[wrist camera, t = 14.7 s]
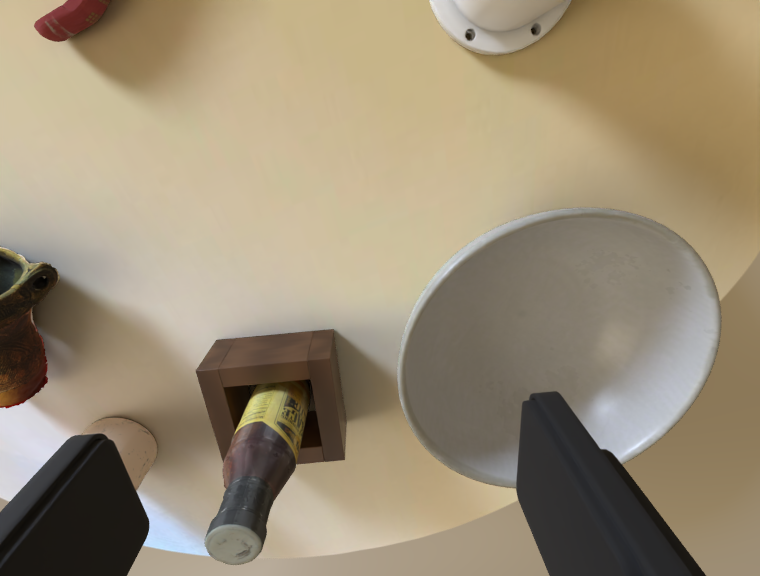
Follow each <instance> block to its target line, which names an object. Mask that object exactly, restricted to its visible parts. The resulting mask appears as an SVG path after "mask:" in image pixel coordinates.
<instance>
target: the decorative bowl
mask: <svg viewBox="0 0 760 576" xmlns="http://www.w3.org/2000/svg"><path fill="white" fill-rule="evenodd" d="M720 335H721V307H720V301H719V296H718V292H717V289H716V286H715V283H714V280H713V278H712V276H711V274H710V272H709V270H708V268H707V266H706V265H705V263H704V262H703V260H702V259H701V257H700V256H699V255H698V253H697V252H696V251H695V250H694V249H693V248H692V247H691V246H690V245H689V244H688V243H687V242H686V241H685V240H684V239H683V238H681V237H680V236H679V235H677V234H676V233H675V232H673V231H672V230H670V229H669V228H667V227H665V226H664V225H662V224H660V223H658V222H656V221H653V220H651V219H648V218H646V217H643V216H640V215H637V214H633V213H629V212H626V211H620V210H614V209H605V208H567V209H558V210H552V211H546V212H541V213H537V214H533V215H529V216H525V217H522V218H519V219H516V220H513V221H510V222H508V223H505V224H503V225H500V226H498V227H496V228H494V229H492V230H490V231H488V232H486V233H484V234H483V235H481V236H479V237H478V238H476V239H474V240H473V241H471V242H470V243H468V244H467V245H466V246H464V247H463V248H462V249H461V250H459V251H458V252H457V253H456V254H455V255H453V256H452V257H451V258H450V259H449V260H448V261H447V262H446V263H445V264H444V265H443V266H442V267H441V268H440V269H439V270H438V272H437V273H436V274H435V275H434V276H433V278H432V279H431V280H430V282H429V283H428V285H427V286H426V287H425V289H424V290H423V292H422V294H421V295H420V297H419V299H418V300H417V302H416V304H415V306H414V308H413V310H412V312H411V315H410V317H409V320H408V322H407V325H406V328H405V331H404V334H403V337H402V342H401V346H400V351H399V358H398V369H397V380H398V391H399V397H400V402H401V406H402V409H403V412H404V415H405V417H406V419H407V421H408V424H409V426H410V427H411V429H412V431H413V433H414V434H415V436H416V437H417V438H418V440H419V441H420V443H421V444H422V445H423V446H424V447H425V448H426V449H427V450H428V451H429V452H430V453H431V454H432V455H433V456H434V457H435V458H436V459H438V460H439V461H440V462H441V463H443V464H444V465H446V466H447V467H449V468H450V469H452V470H454V471H456V472H457V473H459V474H461V475H464V476H466V477H468V478H471V479H473V480H476V481H479V482H483V483H486V484H490V485H495V486H500V487H507V488H516V480H517V466H518V452H519V438H520V424H521V411H522V403H523V401H526V400H529V397H530V395H531V394H532V393H541V392H552V391H557V392H559V393H560V394H561V395H562V397H563V398H564V400H565V401H566V402H567V404H568V405H569V406H570V408H571V409H572V411H573V412H574V413H575V415H576V416H577V417H578V419H579V420H580V421H581V423H582V424H583V426H584V427H585V428H586V430H587V431H588V432H589V434H590V435H591V437H592V438H593V439H594V441H595V442H596V443H597V445H598V446H599V448H600V449H607V450H608V451H610V452H612V453H613V454H614V455H615V457H616V458H617V459H618V460H619V461H620V463H621V464H624V463H626V462H628V461H630V460H631V459H633V458H635V457H636V456H638V455H639V454H641V453H642V452H644V451H645V450H647V449H648V448H649V447H651V446H652V445H653V444H655V443H656V442H657V441H658V440H660V439H661V438H662V437H663V436H664V435H665V434H666V433H668V432H669V431H670V430H671V429H672V428H673V427H674V426H675V425H676V424H677V423H678V422H679V420H680V419H681V418H682V417H683V415H685V413H686V412H687V411H688V410H689V408H690V407H691V406H692V404H693V403H694V401H695V400H696V398H697V397H698V395H699V394H700V392H701V390H702V389H703V387H704V385H705V383H706V381H707V379H708V377H709V375H710V373H711V370H712V367H713V365H714V362H715V358H716V355H717V352H718V346H719V342H720Z"/></svg>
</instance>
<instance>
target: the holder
mask: <svg viewBox="0 0 760 576" xmlns="http://www.w3.org/2000/svg"><path fill="white" fill-rule="evenodd" d="M196 374H197V377H198V380H199V384H200V387H201V390H202V394H203V397H204V400H205V403H206V407H207V410H208V413H209V417H210V420H211V423H212V427H213V430H214V433H215V437H216V440H217V443H218V446H219V450H220V453H221V456H222V460H223V463H224V460H225V457H226V455H227V452H228V450H229V448H230V446H231V442H232V438H233V436H234V434H235V432H236V429H237V427H238V425H239V423H240V421H241V418H242V416H243V414H244V412H245V409H246V407H247V405H248V403H249V400H250V398H251V397H250V393H249V389H248V385H254V384H265V383H275V382H286V381H297V380H307V379H311V385H312V391H313V396H314V402H315V408H316V411H309V412H307V416H306V421H305V426H304V431H303V436H302V441H301V445H300V449H299V454H298V459H297V463H296V464H306V463H316V462H324V461H325V462H328V461H338V460H345V446H346V424H347V422H346V414H345V407H344V400H343V393H342V386H341V379H340V371H339V364H338V357H337V350H336V343H335V336H334V329H331V330H320V331H310V332H299V333H288V334H277V335H266V336H256V337H245V338H235V339H224V340H216V341H215V343H214V344H213V346H212V347H211V349H210V350H209V352H208V353H207V355H206V356H205V358H204V359H203V361H202V362H201V364H200V365H199V367H198V368H197V370H196Z"/></svg>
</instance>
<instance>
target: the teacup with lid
mask: <svg viewBox="0 0 760 576" xmlns="http://www.w3.org/2000/svg"><path fill="white" fill-rule="evenodd" d="M97 433H102V434H104V435H106V436H107V437H108V439H111V440H113V441H114V443H115V445H116V447H117V449H118V452H119V454H120V456H121V458H122V461H123V463H124V465H125V467H126V470H127V472H128V474H129V476H130V479H131V481H132V483H133V485H134V488H135V490H137V489H138V487H139V485H140V484H141V482H142V480H143V479H144V477H145V476H146V474H147V472H148V471H149V469H150V467H151V466H152V464H153V463H154V461H155V459H156V456H157V444H156V441H155V439H154V437H153V436H152V434H151V433H150V432H149V431H148V430H147V429H146V428H144V427H143V426H142V425H140V424H138V423H136V422H134V421H131V420H128V419H124V418H105V419H101V420H98V421H96V422H94V423H92V424H91V425H90V426H89V427H88V428H87V429H86V430H85V431H84V432H83V433H82V434H81V435H86V434H97Z"/></svg>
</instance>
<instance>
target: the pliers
mask: <svg viewBox="0 0 760 576" xmlns="http://www.w3.org/2000/svg"><path fill="white" fill-rule="evenodd" d="M110 1H111V0H68V1H67V2H66V3H65V4H64V5H62V6H60V7H58V8H57V9H55V10H53V11H52V12H50V13H48V14H47V15H45V16H43V17H42V18H40V19H39V20H37V21H36V23H35V24H34V27H35V29H36V30H37V31H38V32H39V34H40V35H42V36H43V37H45V38H47V39H49V40H52V41H57V42H60V41H65V40H67V39H68V38H70V37H72V36H74V35H75V34H77V33H79V32H81V31H82V30H84V29H86V28H88V27H89V26H91V25H93V24H94V23H96V22H97V21H98V20H99V18H100V17H101V16H102V15H103V13H104V12H105V10H106V8H107V6H108V5H109V3H110Z"/></svg>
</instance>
